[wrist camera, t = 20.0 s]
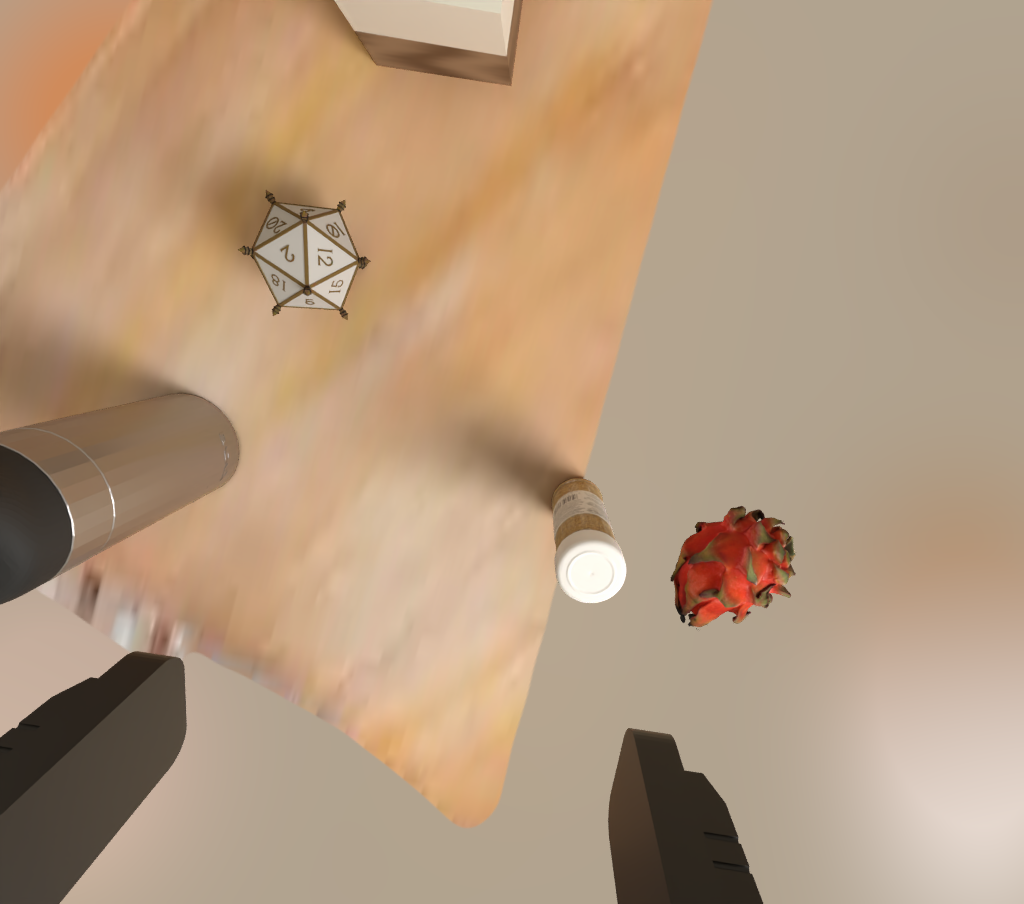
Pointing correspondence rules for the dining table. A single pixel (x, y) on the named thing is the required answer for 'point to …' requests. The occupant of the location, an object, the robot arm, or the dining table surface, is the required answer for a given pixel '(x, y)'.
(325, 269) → the game die
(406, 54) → the tower bottom
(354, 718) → the dining table surface
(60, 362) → the dining table surface
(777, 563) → the dragon fruit
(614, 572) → the sprinkles bottle
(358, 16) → the tower top
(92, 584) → the dining table surface
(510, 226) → the dining table surface
